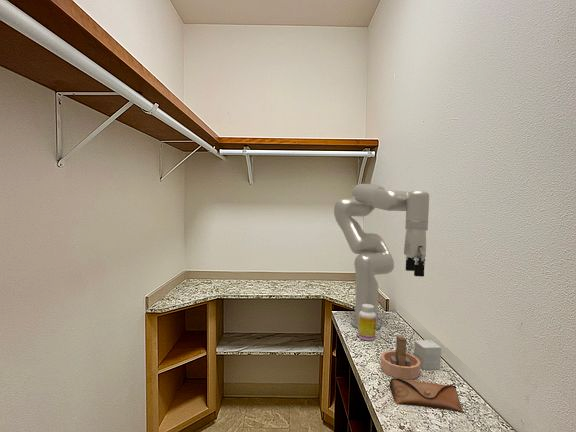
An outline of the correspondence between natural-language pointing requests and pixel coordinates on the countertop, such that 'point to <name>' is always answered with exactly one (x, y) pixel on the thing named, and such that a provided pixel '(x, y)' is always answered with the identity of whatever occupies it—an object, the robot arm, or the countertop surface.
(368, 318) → the supplement bottle
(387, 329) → the countertop surface
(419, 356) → the product box
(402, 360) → the wooden plank
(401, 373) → the terracotta shallow dish
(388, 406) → the countertop surface
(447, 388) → the sunglasses case
